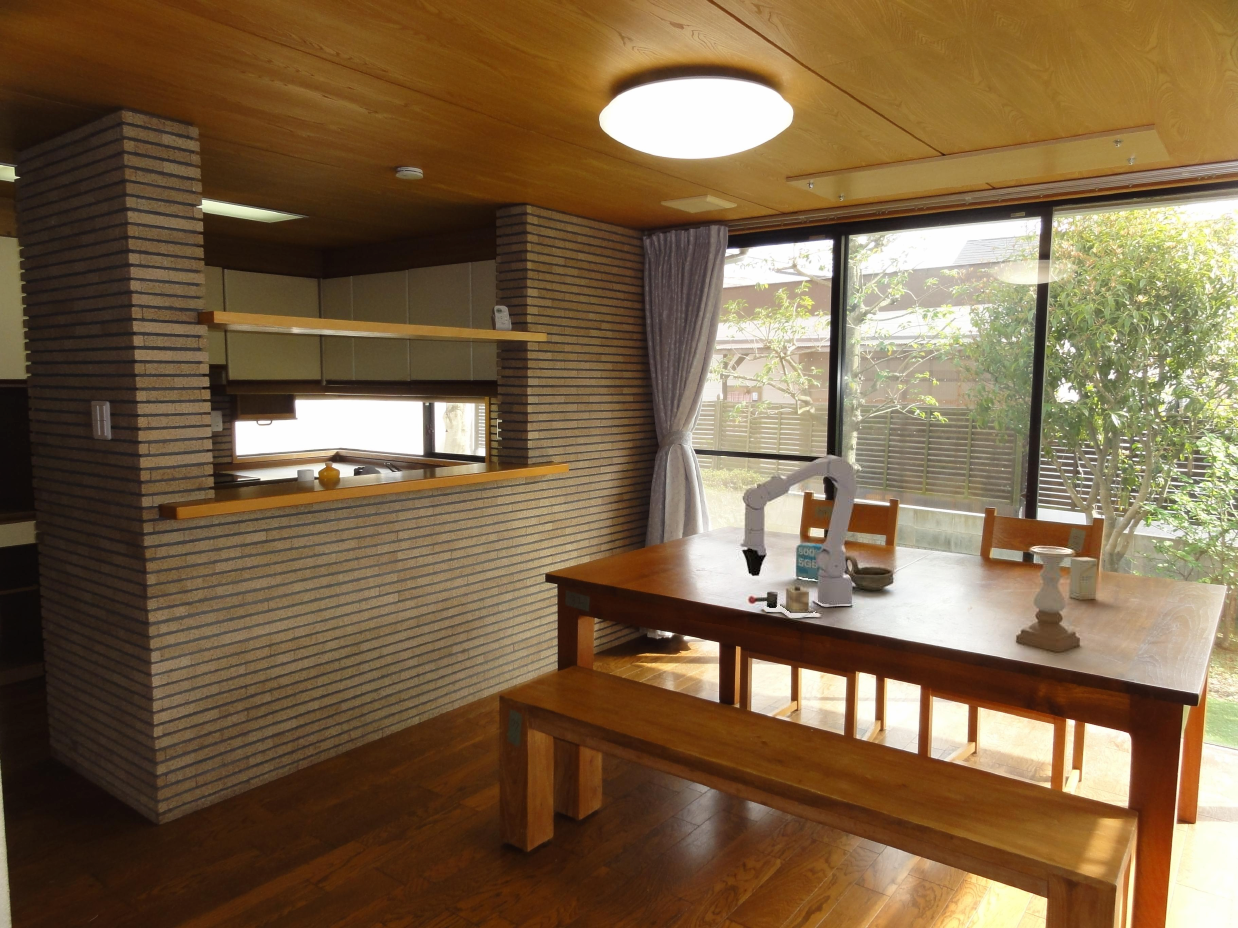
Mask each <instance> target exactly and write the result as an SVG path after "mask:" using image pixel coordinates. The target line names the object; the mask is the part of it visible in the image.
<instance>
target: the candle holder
mask: <svg viewBox="0 0 1238 928" xmlns="http://www.w3.org/2000/svg"><path fill="white" fill-rule="evenodd" d="M1028 551H1029V553H1030V554H1031V555H1034V556H1035V555H1036V556H1039V559H1040V561H1041V562H1042V565H1043V566H1042V567H1043V568H1042V570H1041V571H1040V572H1039V574H1038V575H1039V577H1040V578H1041V581H1042V585H1041V587H1040V589H1039V590H1038V591H1037V592H1036V593H1035V595H1034V596H1033V597H1034V598H1033V600H1032V601H1033V602H1032V603H1033V606H1034V607H1035V608H1036V609H1037V611H1036V613H1035V615H1034V616H1035V619H1036V620H1037V621H1035V622H1033V623H1031V624H1030V625H1029V626H1026V627H1024V628H1022V629H1020V633H1018V634H1015V635H1016V637H1015V638H1016V639H1015V642H1016V643H1018V644H1022V645H1024V646H1025V645H1026V646H1029V647H1032V648H1038V649H1041V650H1046V651H1048V652H1053V653H1058V654H1059V653H1063V652H1066V651H1069V650H1070V649H1073V648H1077V647H1079V646H1080V645H1081V637H1079V636H1077V632H1076V631H1074V630H1070V629H1067V628H1066V627H1065V626H1064V625H1062V624H1061V623H1062V622H1063V619H1064V618H1063V615H1062V614H1061V612H1062V611H1064V610H1065V608H1066V607H1067V601H1066V599H1065V596H1064V595H1063V593H1062V592H1061V589H1060V588H1059V583H1060V581H1061V579H1062V578H1063V574H1062V573H1061V571H1060V566H1061V564H1062V563H1063V562H1064V559H1065V558H1074V556H1076V551H1075V550H1073V549H1071V548H1065V547H1060V546H1052V545H1051V546H1048V545H1047V546H1046V545H1036V546H1030V548H1029V549H1028Z"/></svg>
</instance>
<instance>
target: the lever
mask: <svg viewBox="0 0 1238 928" xmlns="http://www.w3.org/2000/svg"><path fill="white" fill-rule="evenodd" d="M747 600H748V603H749V604H750V605H751V604H752V605H753V604H756V603H760V602H761V603H762V602H766V606H767V607H769V608H776V607H777V604H778V592H777V591H767V592H766V596H764V597H761V596H759V597H756V596H754V595H751V596H749V597H748V599H747Z"/></svg>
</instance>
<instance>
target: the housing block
mask: <svg viewBox="0 0 1238 928" xmlns="http://www.w3.org/2000/svg"><path fill="white" fill-rule="evenodd" d="M809 601H810V591H808V590H807V589H805V588H804V587H802V586H798V585H797V586H796V585H795V586H794V587H786V588H785V604H786V605H787V606H788V607H790V608H791V609H793V610H801V609H809V607H810V605H809V604H810V602H809Z"/></svg>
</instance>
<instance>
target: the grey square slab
mask: <svg viewBox="0 0 1238 928" xmlns="http://www.w3.org/2000/svg"><path fill="white" fill-rule="evenodd" d="M780 606H782V607H783V608H785V609H786V610H787V611H789V612H790V613H813V612H815V611H816V612H815V613H819V614H821V613H820V612H818V611H817V610H816V609H814V608H812V607H811V606H809V609H801V610H793V609H791V608H790V607H788V606H787V605H786V603H780Z"/></svg>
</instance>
